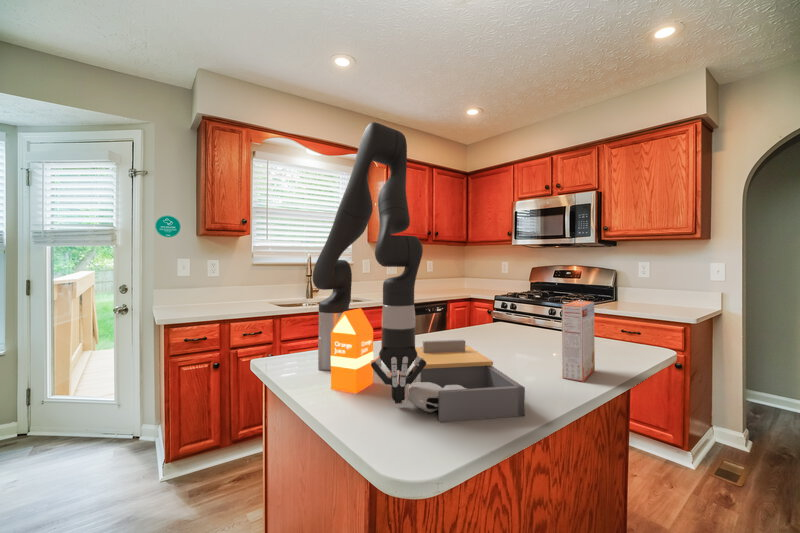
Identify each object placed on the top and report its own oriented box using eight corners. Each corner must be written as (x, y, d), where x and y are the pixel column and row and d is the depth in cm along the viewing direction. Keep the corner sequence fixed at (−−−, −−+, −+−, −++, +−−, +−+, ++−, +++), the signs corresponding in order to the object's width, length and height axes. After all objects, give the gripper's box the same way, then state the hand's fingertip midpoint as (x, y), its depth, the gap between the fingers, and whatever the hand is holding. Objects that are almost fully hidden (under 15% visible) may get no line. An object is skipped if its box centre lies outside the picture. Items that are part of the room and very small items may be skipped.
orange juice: (330, 388, 94) (330, 311, 94) (349, 379, 102) (349, 307, 102) (356, 393, 91) (356, 312, 91) (373, 383, 99) (373, 308, 99)
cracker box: (573, 367, 114) (574, 300, 114) (595, 371, 110) (595, 301, 110) (560, 378, 103) (560, 303, 103) (583, 382, 99) (584, 305, 99)
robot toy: (461, 397, 91) (402, 398, 87) (462, 379, 91) (403, 378, 87) (483, 418, 79) (415, 419, 75) (484, 396, 79) (417, 397, 75)
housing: (440, 422, 75) (440, 392, 75) (419, 391, 93) (419, 367, 93) (524, 415, 78) (524, 387, 78) (489, 386, 96) (489, 364, 96)
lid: (422, 368, 90) (422, 352, 90) (407, 351, 109) (407, 337, 108) (493, 365, 94) (493, 349, 94) (467, 348, 112) (467, 335, 112)
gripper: (423, 321, 87) (423, 394, 87) (367, 322, 85) (367, 397, 85) (431, 327, 80) (430, 407, 80) (370, 328, 77) (369, 410, 78)
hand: (397, 402), depth 82 cm, fingers closed
